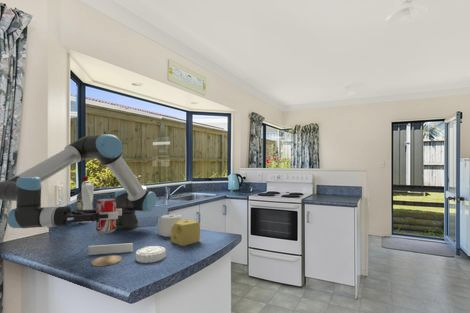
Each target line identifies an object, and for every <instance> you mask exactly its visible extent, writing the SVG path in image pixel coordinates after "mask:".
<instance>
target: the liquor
mask: <svg viewBox="0 0 470 313" xmlns="http://www.w3.org/2000/svg"><path fill="white" fill-rule="evenodd" d="M81 181H82V182H81V183H82V184H83V185H85V183H89V177H88V176H82V177H81ZM85 181H88V182H85ZM83 182H85V183H83ZM82 184H81V185H82ZM79 207H81V210H83V201H82V190H80V192H79V193H78V194H77V196H76V210H79ZM92 208H93V209H94V199H93V200H92Z"/></svg>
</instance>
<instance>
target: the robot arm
mask: <svg viewBox="0 0 470 313" xmlns="http://www.w3.org/2000/svg"><path fill="white" fill-rule="evenodd" d="M87 159H97V160H98V162H99V163H100V164H101V165H102V166H106V167H107V168H108V170H110V172H111V173H112V174H113V176H114V178H116V180H117V181H118V182H119V185H120V186H122V188H123V190H117V191H115V193H114V199H115V202H116V212H104V213H100V214H99V213H96V209H95V208H93V209H91V210H77V209H74V210H71V207H69V206H68V205H67V206H65V205H64V206H44V207H42V188H43V187H42V183H43V182H45V181H46V180H47V179H49V178H51V177H53V176H54V175H56V174H58V173H59V172H61V171H63V170H65V169H66V168H67V167H69V166H71V165H72V164H74V163H77V164H78V163H80V162H81V161H83V160H84V161H85V160H87ZM157 200H158V199H157V195H156V193H155V192H154V191H149V190H148V188H147V187H146V186H145V185H142V184H141V183H140V181H139V180H138V178H137V177H136V176H135V174H134V172H133V171H132V170H131V168H130V167H129V165H128V164H127V162H126V161H125V160H124V158H123V144H122V142H121V140H120V138H118V136H116V135H114V134H108V133H107V134H106V133H105V134H104V133H103V134H100V135H99V134H96V135H95V134H94V135H86V136H83V137H80V138H79V139H77V140H75V141H73V142H71V143H69V144H68V145H66V146H65V147H64V149H63V150H60V152H58V153H55V154H54V155H52V156H50V157H48V158H46V159H45V160H43V161H41V162H40V163H37V164H35V165H34V166H32V167H30V168H28V169H26V170H25V171H23V172H21V173H18V174H17V175H16V176H13V177H12V178H9V179H8V180H3V181H0V201H5V202H6V201H11V202H12V201H13V202H14V201H15V203H16V204H15V205H16V208H13V209H10V211H9V212H8V216H7V217H6V218H7V224H8V226H9V227H11V228H12V229H31V228H45V227H47V229H50V228H51V227H67V226H68V225H69V224H70V223H77V222H78V223H79V222H85V221H93V222H95V221H96V222H99V219H100V220H107V219H116V229H115V230H114V231H116V230H117V231H123V230H125V231H126V230H133V229H135V228H138V227H139V220H138V218H137V214H136V212H151V211H153V210H154V209H155V207H156V205H157ZM96 222H95V223H96Z"/></svg>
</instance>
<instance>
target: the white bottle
mask: <svg viewBox="0 0 470 313" xmlns="http://www.w3.org/2000/svg"><path fill="white" fill-rule="evenodd" d="M85 182H88V183H85ZM85 182H83V183H85V185H83V184H81V191H82V201H83V210H91V209H94V207H93V208H92V200H93V201H94V192H95V191H94V190H95V188H94V187H95V186H94V183H93V182H92V183H91V180H88V181H85ZM79 210H81V207H79ZM85 222H91V221H85ZM79 223H81V222H78V224H79ZM91 223H92V222H91Z"/></svg>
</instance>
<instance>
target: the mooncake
mask: <svg viewBox="0 0 470 313" xmlns="http://www.w3.org/2000/svg"><path fill="white" fill-rule="evenodd" d="M166 256H167V249H166V248H165V247H163V246H161V245H160V246H159V245H148V246H143V247H142V248H139V249H138V250H136V252H135V261H136V262H138V263H143V264H144V263H145V264H148V263H157V262H159V261H161V260H164V259H165V258H166Z"/></svg>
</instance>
